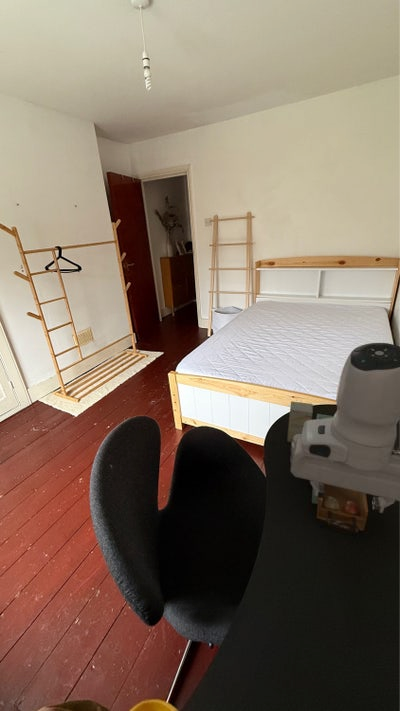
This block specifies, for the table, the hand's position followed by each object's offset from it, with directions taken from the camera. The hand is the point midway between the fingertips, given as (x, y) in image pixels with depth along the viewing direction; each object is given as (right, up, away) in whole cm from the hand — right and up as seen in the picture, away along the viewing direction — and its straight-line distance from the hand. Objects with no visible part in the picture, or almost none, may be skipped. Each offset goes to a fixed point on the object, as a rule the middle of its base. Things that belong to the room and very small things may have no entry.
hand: (346, 501), depth 53 cm
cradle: (+5, -10, +16) cm, 20 cm away
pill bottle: (+1, -4, +30) cm, 30 cm away
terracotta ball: (+4, -5, +7) cm, 10 cm away
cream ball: (+1, -5, +8) cm, 10 cm away
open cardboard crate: (+4, -6, +11) cm, 13 cm away
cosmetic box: (+4, 0, +38) cm, 38 cm away
